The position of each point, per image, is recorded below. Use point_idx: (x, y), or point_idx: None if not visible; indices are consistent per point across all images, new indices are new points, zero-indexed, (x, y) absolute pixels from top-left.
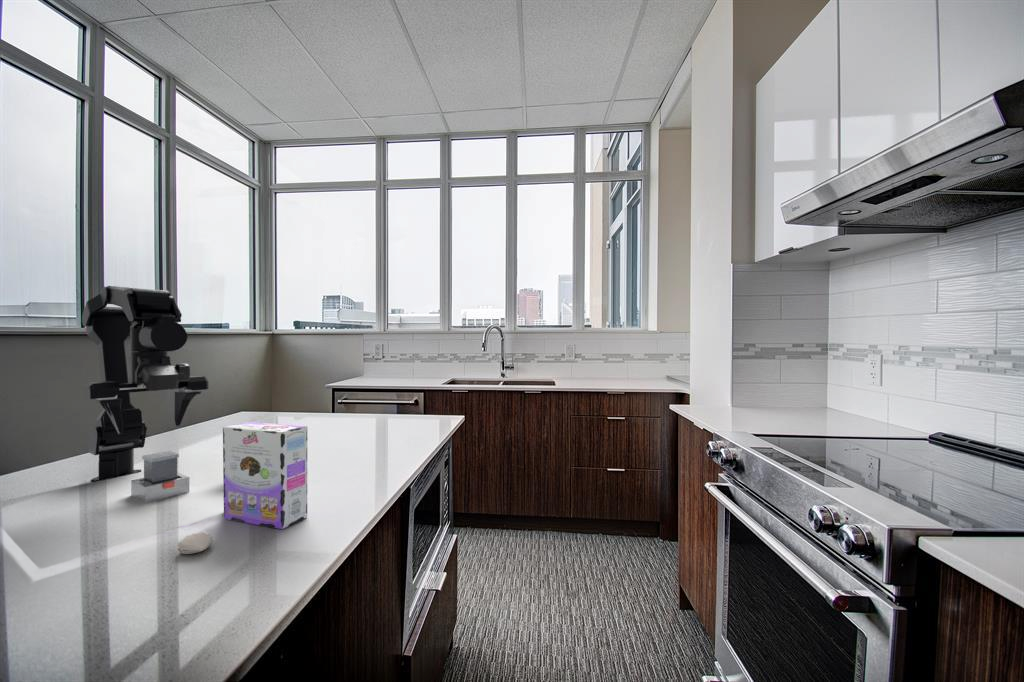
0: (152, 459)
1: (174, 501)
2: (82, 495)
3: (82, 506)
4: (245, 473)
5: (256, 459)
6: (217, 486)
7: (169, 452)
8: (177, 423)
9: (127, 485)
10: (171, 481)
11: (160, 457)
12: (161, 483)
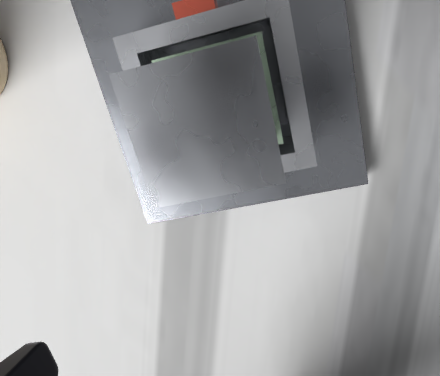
0: (249, 38)
1: None
2: (410, 315)
3: (434, 195)
4: None
5: None
6: (52, 109)
7: (154, 161)
8: (33, 357)
9: (294, 329)
10: (182, 11)
11: (205, 52)
12: (222, 9)
